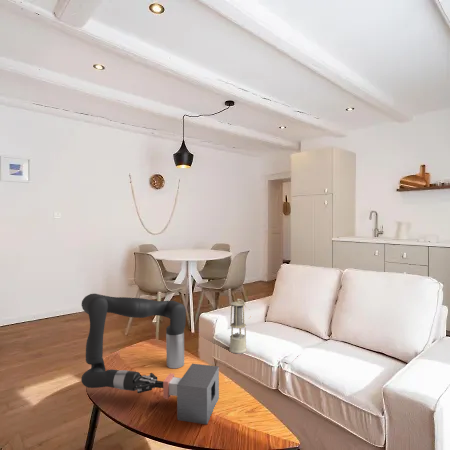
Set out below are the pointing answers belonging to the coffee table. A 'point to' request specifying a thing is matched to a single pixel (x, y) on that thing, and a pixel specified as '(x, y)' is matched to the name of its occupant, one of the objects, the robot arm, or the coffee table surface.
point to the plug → (170, 386)
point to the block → (198, 393)
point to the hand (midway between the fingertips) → (164, 385)
